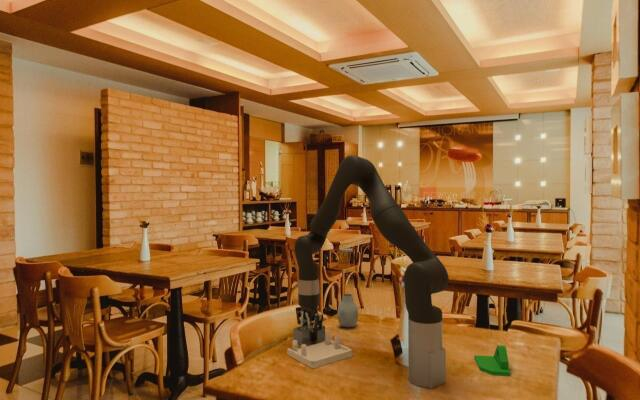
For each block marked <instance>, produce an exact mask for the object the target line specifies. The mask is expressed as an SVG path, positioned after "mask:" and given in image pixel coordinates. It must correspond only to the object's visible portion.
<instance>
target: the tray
mask: <svg viewBox="0 0 640 400" xmlns="http://www.w3.org/2000/svg"><path fill="white" fill-rule="evenodd" d="M298 346H299V345H298V342H297V340H294V339H292V349H291V348H290V347H288V348H287V349H286V351H287V352H286V353H287V354H286V355H287V356H289V357H291V358H292V359H294V360H296V361H298V362H299V363H301V364H303V365H305V366H307V367H309V368H311V369H316V368H318V367H319V366H320V367H323V366H326V365H329V364H333V363H336V362H339V361H342V360H345V359H348V358H351V357H354V349H352V348H350V347H348V346H345V345H344V344H341V343H340V335H334V340H332V339H331V331H325V340H324V341H320V342H317V343H313V344H309V345H306V344H302V345H301V346H300V348H298Z"/></svg>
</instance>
